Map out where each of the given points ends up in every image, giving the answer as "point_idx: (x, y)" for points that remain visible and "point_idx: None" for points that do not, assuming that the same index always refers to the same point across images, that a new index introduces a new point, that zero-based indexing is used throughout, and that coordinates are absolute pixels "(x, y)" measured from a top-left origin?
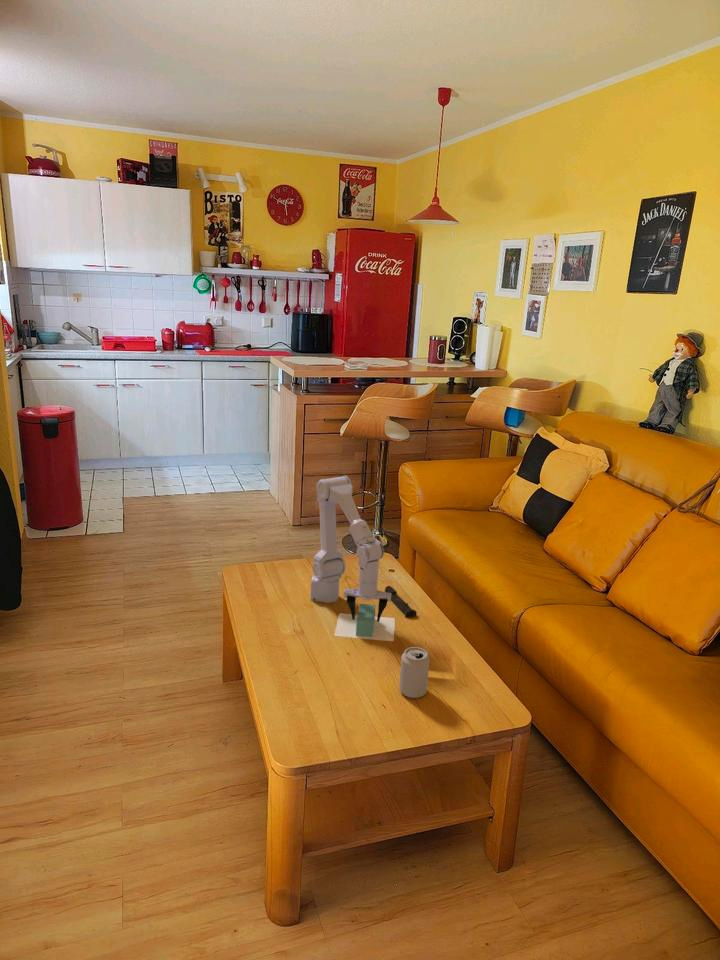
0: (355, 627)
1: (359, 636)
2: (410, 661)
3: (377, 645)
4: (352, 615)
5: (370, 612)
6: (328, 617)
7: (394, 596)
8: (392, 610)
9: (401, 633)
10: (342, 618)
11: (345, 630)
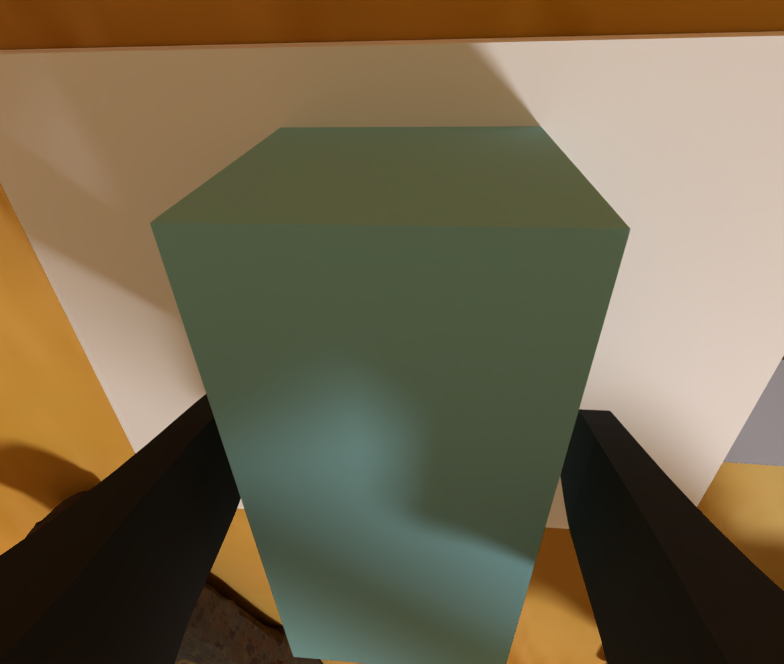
0: None
1: (479, 102)
2: None
3: (199, 8)
4: (647, 464)
5: (320, 538)
6: (770, 490)
7: None
8: (245, 575)
9: (52, 330)
10: (667, 470)
11: (688, 244)
